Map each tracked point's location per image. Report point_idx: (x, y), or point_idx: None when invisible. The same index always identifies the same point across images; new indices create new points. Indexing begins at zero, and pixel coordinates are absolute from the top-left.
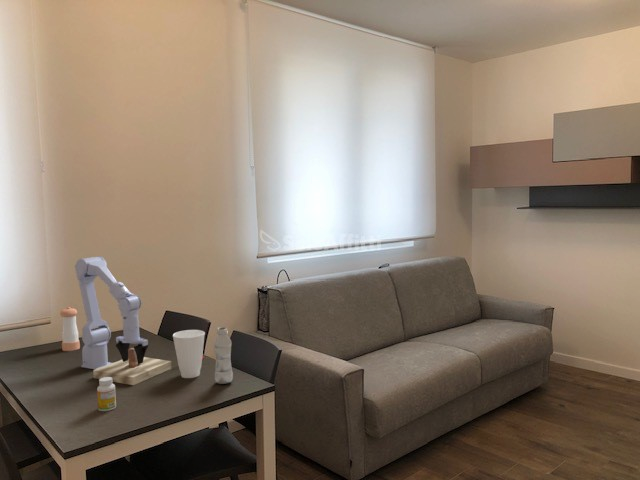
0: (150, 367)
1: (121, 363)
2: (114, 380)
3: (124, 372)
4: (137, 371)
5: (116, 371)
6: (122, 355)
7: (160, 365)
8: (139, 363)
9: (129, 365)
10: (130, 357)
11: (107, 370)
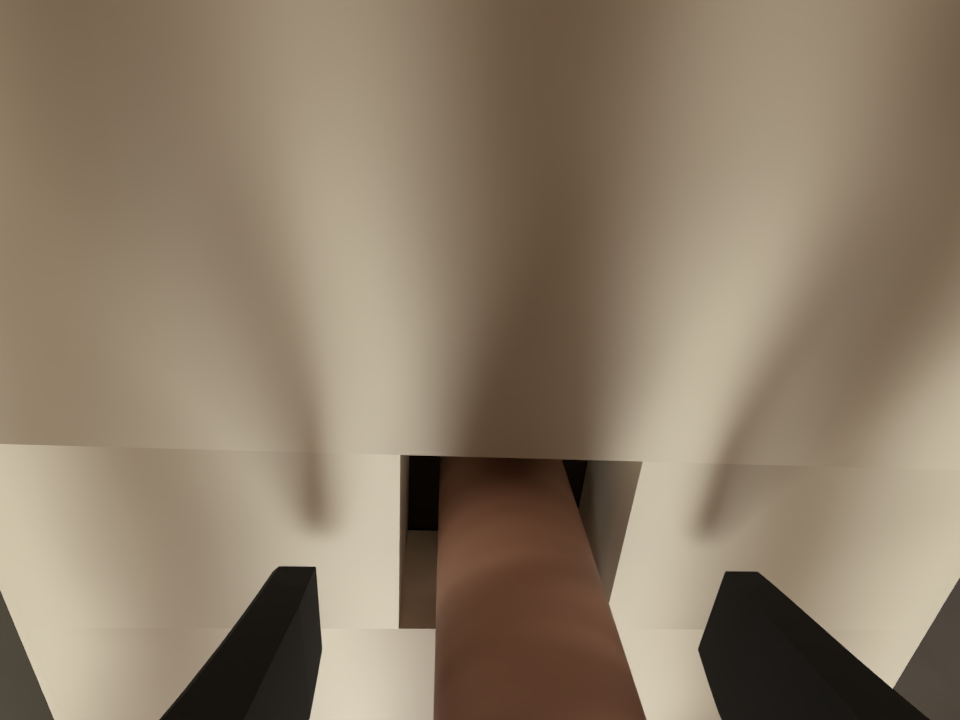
0: (106, 580)
1: (806, 563)
2: None
3: (340, 152)
4: (104, 322)
5: (606, 149)
6: (842, 697)
7: (52, 691)
8: (270, 583)
9: (537, 506)
10: (522, 678)
11: (886, 129)
